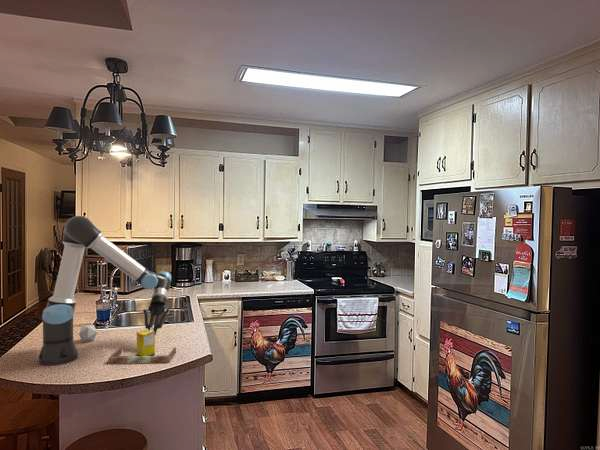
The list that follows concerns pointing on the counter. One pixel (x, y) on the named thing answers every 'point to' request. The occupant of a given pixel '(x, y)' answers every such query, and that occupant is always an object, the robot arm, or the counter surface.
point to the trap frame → (140, 358)
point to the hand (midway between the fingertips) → (149, 341)
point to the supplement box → (145, 343)
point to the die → (88, 333)
